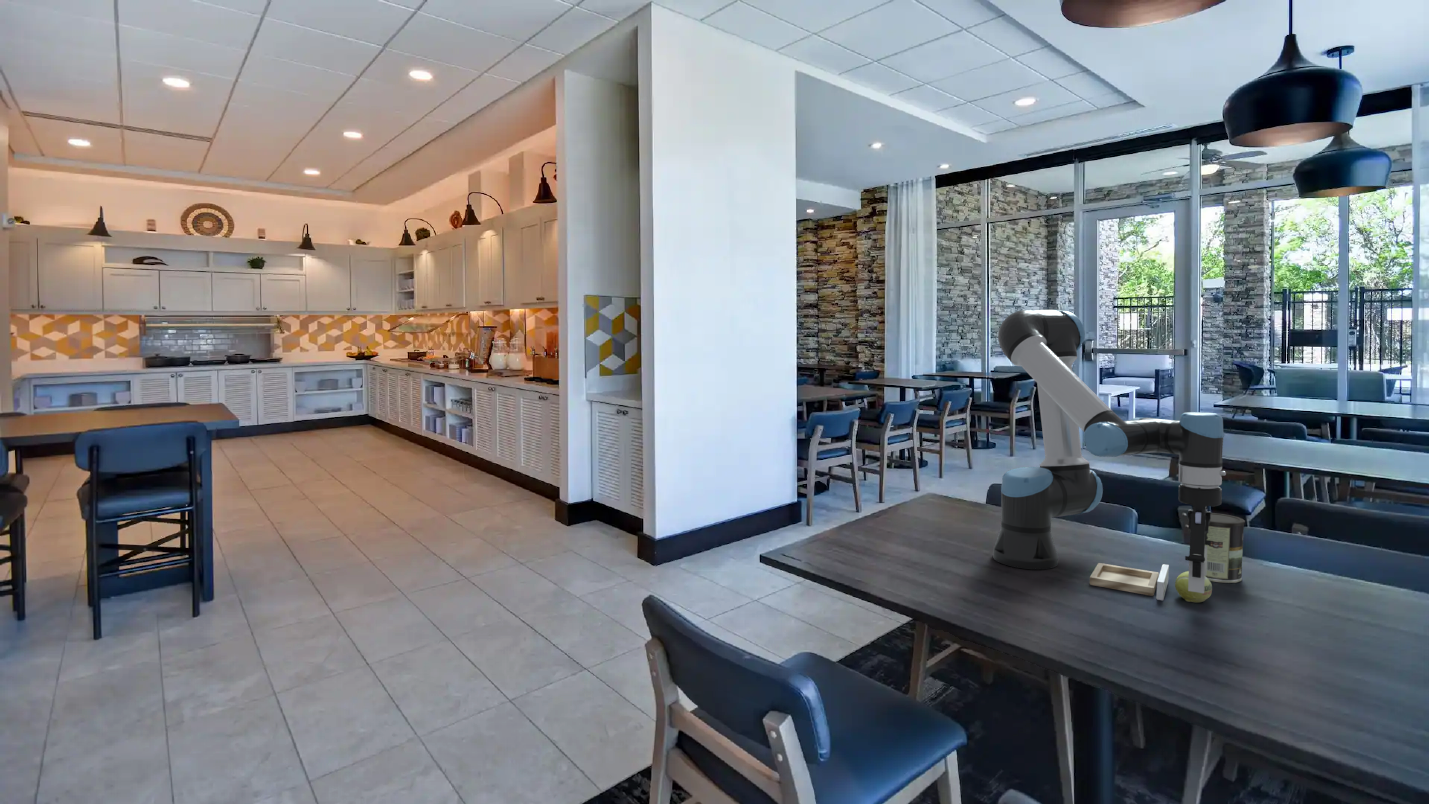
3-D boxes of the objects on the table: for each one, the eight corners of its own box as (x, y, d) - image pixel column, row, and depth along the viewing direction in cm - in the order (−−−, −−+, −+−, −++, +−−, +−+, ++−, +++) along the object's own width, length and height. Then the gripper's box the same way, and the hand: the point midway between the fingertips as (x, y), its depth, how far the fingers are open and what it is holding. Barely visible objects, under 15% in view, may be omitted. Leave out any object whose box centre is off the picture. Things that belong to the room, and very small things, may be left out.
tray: (1089, 584, 157) (1089, 577, 157) (1098, 570, 167) (1098, 562, 167) (1153, 596, 149) (1153, 588, 149) (1158, 580, 159) (1158, 572, 159)
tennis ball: (1201, 576, 142) (1215, 569, 146) (1166, 572, 148) (1181, 566, 152) (1205, 606, 142) (1219, 599, 146) (1170, 601, 148) (1185, 594, 151)
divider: (1156, 599, 148) (1157, 581, 147) (1162, 580, 159) (1162, 564, 158) (1163, 600, 147) (1163, 582, 146) (1168, 581, 158) (1168, 565, 158)
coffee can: (1227, 569, 165) (1230, 512, 164) (1251, 584, 155) (1254, 524, 154) (1179, 567, 168) (1182, 511, 166) (1200, 582, 157) (1203, 522, 156)
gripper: (1220, 497, 133) (1218, 603, 135) (1222, 477, 153) (1220, 570, 154) (1174, 493, 138) (1172, 596, 139) (1182, 474, 157) (1180, 564, 159)
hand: (1197, 582), depth 147 cm, fingers open, 13 cm apart
